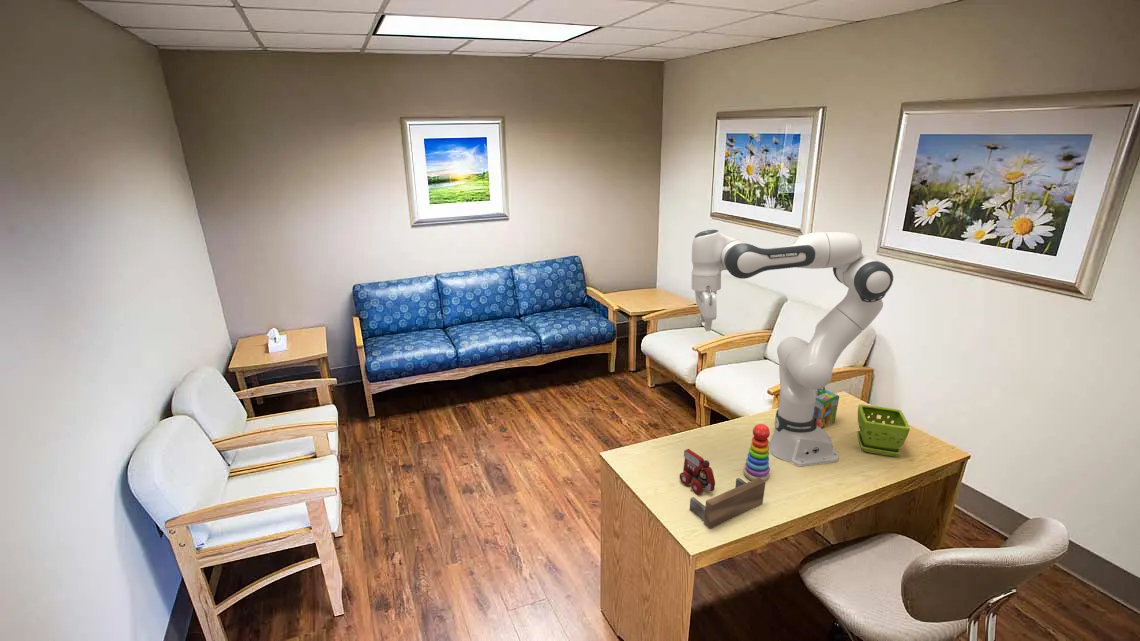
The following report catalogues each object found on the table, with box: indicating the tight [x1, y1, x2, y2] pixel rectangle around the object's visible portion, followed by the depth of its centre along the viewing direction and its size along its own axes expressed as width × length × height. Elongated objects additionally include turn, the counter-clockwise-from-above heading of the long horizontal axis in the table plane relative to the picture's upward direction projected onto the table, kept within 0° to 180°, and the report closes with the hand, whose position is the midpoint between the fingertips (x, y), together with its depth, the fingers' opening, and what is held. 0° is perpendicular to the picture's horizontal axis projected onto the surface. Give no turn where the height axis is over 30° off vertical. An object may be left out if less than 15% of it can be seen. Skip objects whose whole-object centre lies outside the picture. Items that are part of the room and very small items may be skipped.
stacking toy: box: [743, 423, 771, 482], centre depth 174 cm, size 8×8×19 cm
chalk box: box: [813, 386, 840, 429], centre depth 207 cm, size 9×9×15 cm
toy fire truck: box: [679, 448, 716, 495], centre depth 171 cm, size 7×12×10 cm, turn 32°
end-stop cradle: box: [688, 477, 766, 530], centre depth 161 cm, size 9×21×8 cm, turn 120°
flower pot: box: [856, 403, 911, 457], centre depth 190 cm, size 14×14×13 cm
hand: (705, 326), depth 174 cm, fingers open, 8 cm apart
